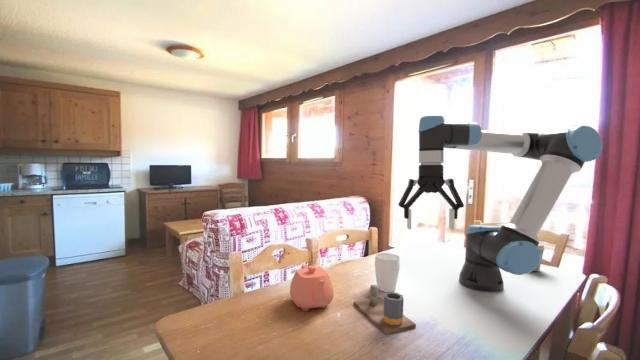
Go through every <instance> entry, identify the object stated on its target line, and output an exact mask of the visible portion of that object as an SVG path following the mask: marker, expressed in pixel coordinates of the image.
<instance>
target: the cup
mask: <svg viewBox="0 0 640 360" xmlns="http://www.w3.org/2000/svg"><path fill="white" fill-rule="evenodd" d="M400 258H401V257H400V256H399V255H398V254H394V253H391V252H378V253H376V254H375V256H374V271H375V280H376V285H377V286H378V288H377V290H379V291H381V292H385V293H388V292H395V291H396V290H397V289H396V288H397V283H398V279H399V273H400V267H401V264H400V263H401V261H400V260H401V259H400Z"/></svg>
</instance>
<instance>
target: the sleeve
mask: <svg viewBox="0 0 640 360" xmlns="http://www.w3.org/2000/svg"><path fill="white" fill-rule="evenodd" d="M391 298H395V299H391ZM383 300H384V309H383V319H384V321H385V322H386V323H388V324H390V325H399V324H401V323H403V315H404V295H402V294H400V293H399V292H395V291H393V292H385V293H384V294H383Z"/></svg>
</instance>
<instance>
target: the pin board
mask: <svg viewBox="0 0 640 360" xmlns="http://www.w3.org/2000/svg"><path fill="white" fill-rule="evenodd" d="M369 289H370V291H369V292H370V294H369V298H366V299H360V300H354V301H352V302H353V303H352V304H353V307H355V308H356V309H357V310H358V311H359V312H360V313H362V314H363V315H364V316H365V317H366V318H367V319H368V320H369V321H370V322H371V323H373V324H374V326H376V327H377V328H378V329H379V330H380V331H381V332H382V333H384V334H385V335H391V334H395V333H399V332H403V331H406V330H407V331H408V330H412V329H416V328H417V323H415V322H414V321H413V320H412V319H410V318H408V317H407V316H406V315H404V314H403V323H401V324H399V325H390V324H388V323H386V322H385V321H384V319H383V309H384V298H382V297H380V296H378V286H377V284H371V285H370V287H369ZM391 299H395V298H391Z"/></svg>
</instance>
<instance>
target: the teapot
mask: <svg viewBox="0 0 640 360" xmlns="http://www.w3.org/2000/svg"><path fill="white" fill-rule="evenodd" d="M289 294H290V297H291V300H292V301H293V302H294V304H295V305H296V306H297V307H298V308H301V311H304V312H307V311H309V310H310V309H315V308H317V309H318V308H321V309H325V308H327V307H328V305H329V304H331V302H332V301H333V299H334V288H333V283H332V281H331V277H330V275H329V273H328V272H327V271H326V270H325V269H324V268H323V267H319V266H316V265H308V266H307V265H306V264H302V265H301V267H300V268H299V269H296V271H295V272H294V273H293V277H292V279H291V283H290V286H289Z"/></svg>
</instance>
